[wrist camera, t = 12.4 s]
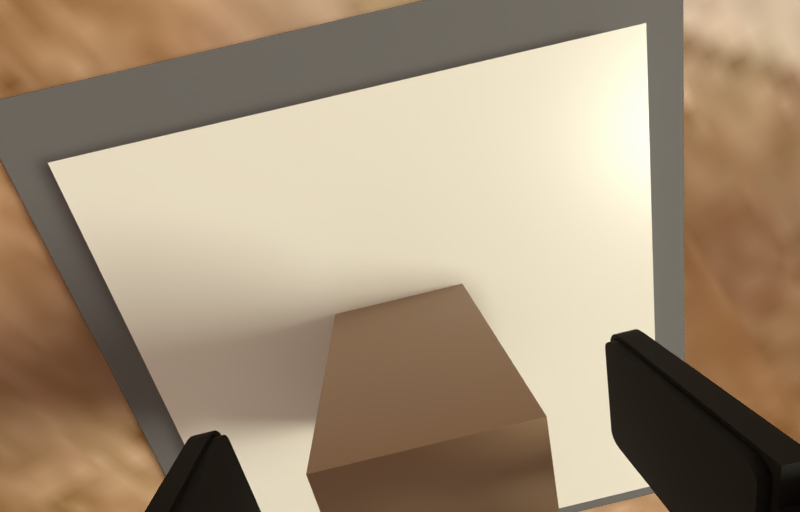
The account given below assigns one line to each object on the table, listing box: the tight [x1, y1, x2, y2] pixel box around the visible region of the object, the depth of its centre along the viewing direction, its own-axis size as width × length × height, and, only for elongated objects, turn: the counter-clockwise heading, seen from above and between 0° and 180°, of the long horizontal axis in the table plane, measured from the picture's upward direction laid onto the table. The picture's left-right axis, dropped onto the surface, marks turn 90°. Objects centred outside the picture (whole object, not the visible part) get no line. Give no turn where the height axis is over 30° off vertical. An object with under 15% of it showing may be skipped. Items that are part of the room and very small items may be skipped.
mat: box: [0, 0, 685, 512], centre depth 14 cm, size 20×20×1 cm
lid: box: [48, 23, 655, 512], centre depth 10 cm, size 16×16×7 cm
